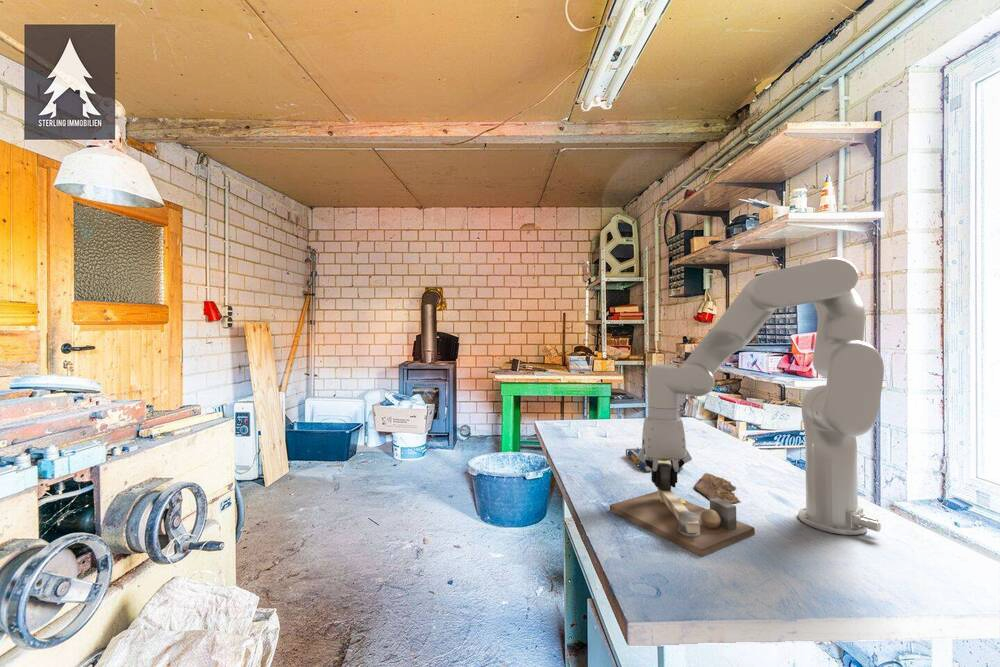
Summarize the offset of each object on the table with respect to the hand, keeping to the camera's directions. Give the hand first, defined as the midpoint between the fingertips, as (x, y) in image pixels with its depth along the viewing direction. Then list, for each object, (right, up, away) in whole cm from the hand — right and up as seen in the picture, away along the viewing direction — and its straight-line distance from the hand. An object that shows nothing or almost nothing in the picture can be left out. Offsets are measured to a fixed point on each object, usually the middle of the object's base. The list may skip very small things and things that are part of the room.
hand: (664, 484), depth 111 cm
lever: (-1, -4, -9) cm, 10 cm away
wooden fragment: (+19, -6, +13) cm, 24 cm away
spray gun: (+10, -6, +35) cm, 37 cm away
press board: (0, -6, -8) cm, 10 cm away
